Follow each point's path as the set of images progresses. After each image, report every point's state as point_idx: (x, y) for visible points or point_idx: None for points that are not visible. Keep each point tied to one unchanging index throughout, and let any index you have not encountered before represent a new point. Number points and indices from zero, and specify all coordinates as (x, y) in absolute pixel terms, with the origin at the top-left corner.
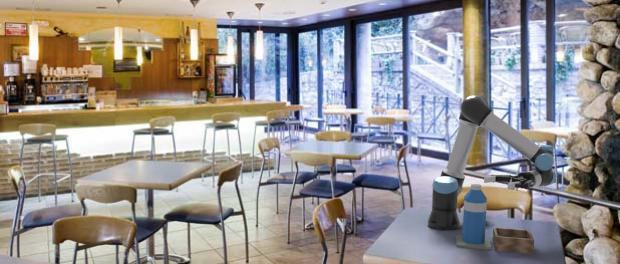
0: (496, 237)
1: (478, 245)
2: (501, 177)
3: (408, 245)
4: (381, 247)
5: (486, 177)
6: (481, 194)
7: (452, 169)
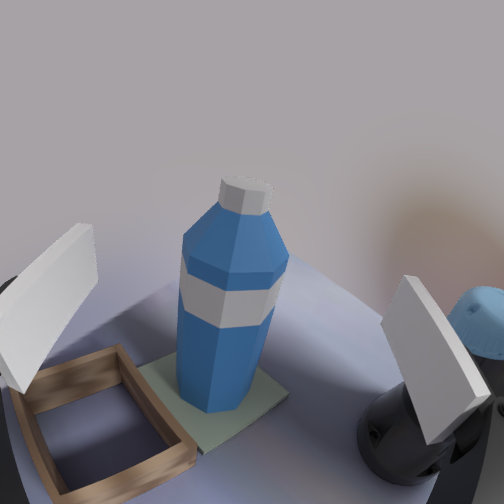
0: (118, 345)
1: (174, 360)
2: (465, 494)
3: (282, 285)
4: (292, 259)
5: (405, 285)
6: (201, 218)
7: None
